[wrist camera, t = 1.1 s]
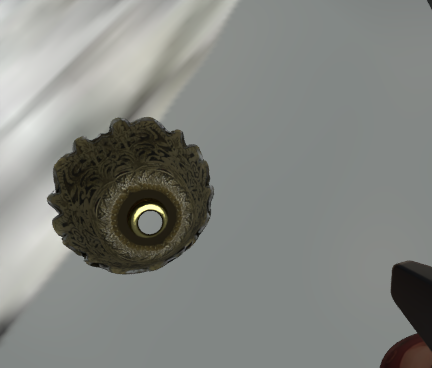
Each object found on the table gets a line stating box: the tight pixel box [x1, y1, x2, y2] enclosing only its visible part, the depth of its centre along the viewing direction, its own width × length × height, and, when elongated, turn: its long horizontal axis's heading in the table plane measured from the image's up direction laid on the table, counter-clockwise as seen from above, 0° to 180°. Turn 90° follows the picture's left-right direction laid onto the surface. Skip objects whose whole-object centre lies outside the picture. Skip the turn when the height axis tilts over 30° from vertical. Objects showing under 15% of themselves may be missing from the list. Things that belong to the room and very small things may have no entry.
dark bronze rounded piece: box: [47, 117, 214, 274], centre depth 19 cm, size 8×7×8 cm
